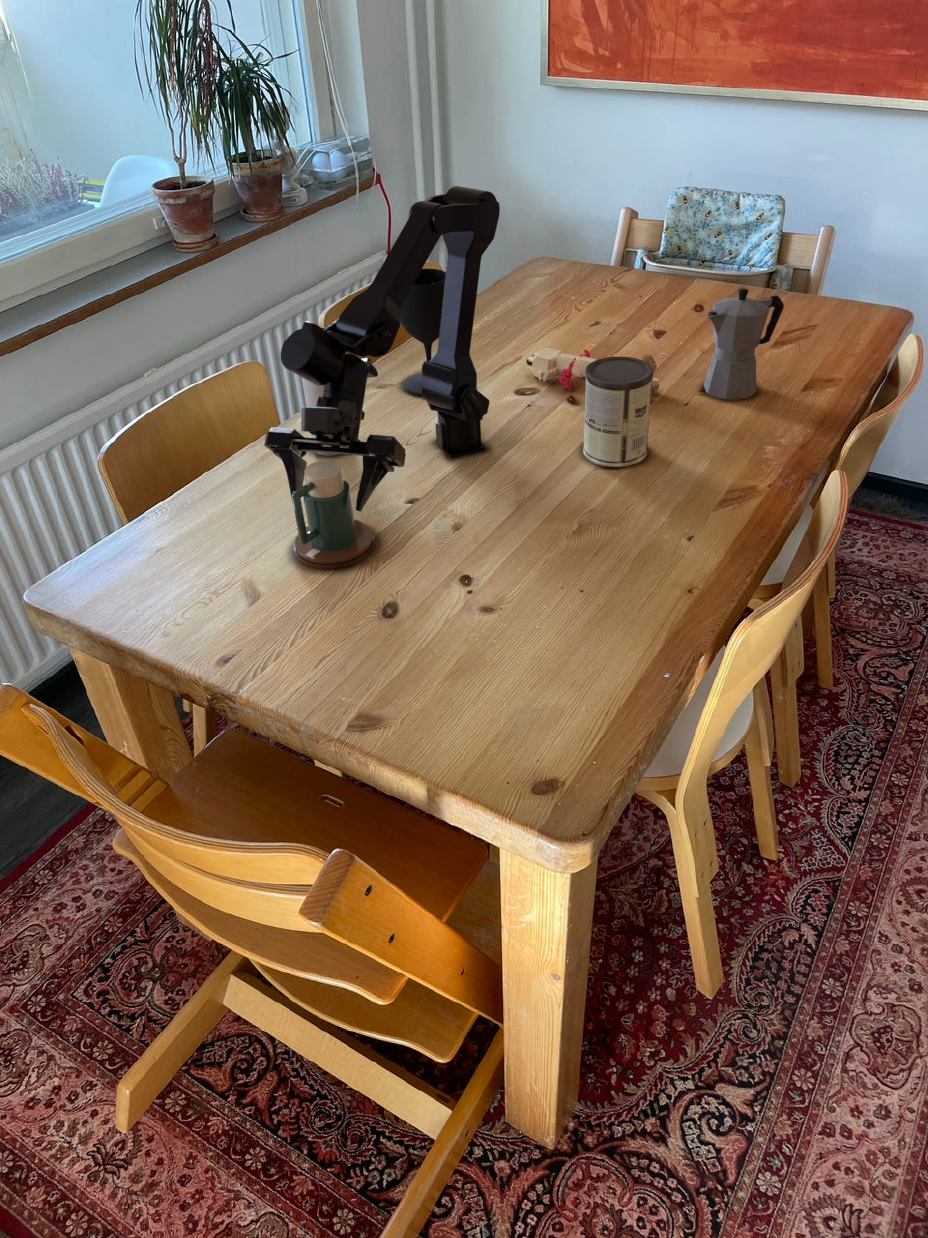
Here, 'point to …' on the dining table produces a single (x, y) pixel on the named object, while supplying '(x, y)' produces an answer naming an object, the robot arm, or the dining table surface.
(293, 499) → the green cylinder with handle
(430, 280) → the wine glass
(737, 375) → the coffeepot
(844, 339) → the dining table surface
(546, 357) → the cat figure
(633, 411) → the coffee can
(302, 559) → the turntable
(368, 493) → the robot arm
